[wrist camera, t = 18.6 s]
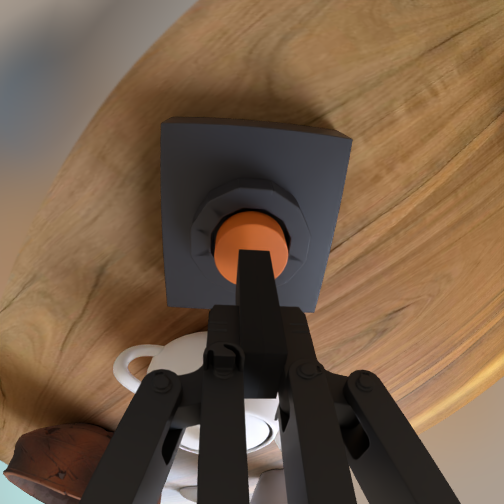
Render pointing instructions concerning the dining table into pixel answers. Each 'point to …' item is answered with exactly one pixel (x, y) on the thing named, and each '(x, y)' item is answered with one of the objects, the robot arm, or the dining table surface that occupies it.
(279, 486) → the vase
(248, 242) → the power button
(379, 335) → the dining table surface
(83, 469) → the bowl
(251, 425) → the teapot
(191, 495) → the candlestick
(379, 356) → the dining table surface
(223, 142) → the button box
